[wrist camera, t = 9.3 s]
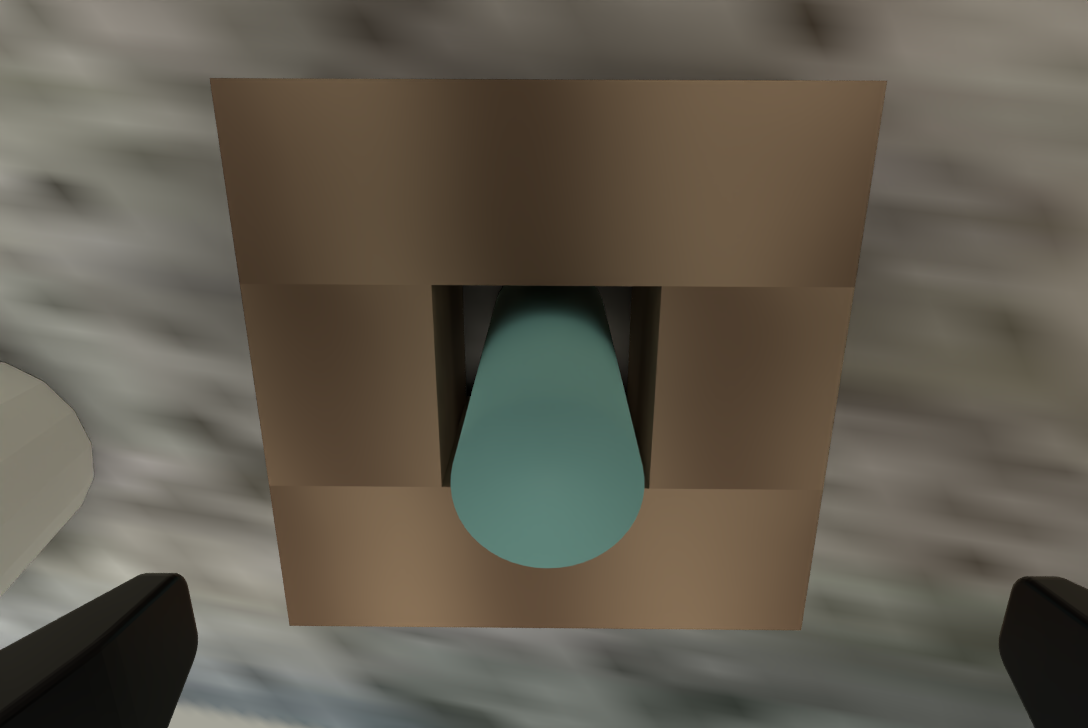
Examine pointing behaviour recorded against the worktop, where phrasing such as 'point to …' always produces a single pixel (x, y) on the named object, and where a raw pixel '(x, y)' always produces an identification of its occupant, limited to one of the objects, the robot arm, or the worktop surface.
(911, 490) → the worktop surface
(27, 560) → the white cup
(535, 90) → the socket block
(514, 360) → the peg
